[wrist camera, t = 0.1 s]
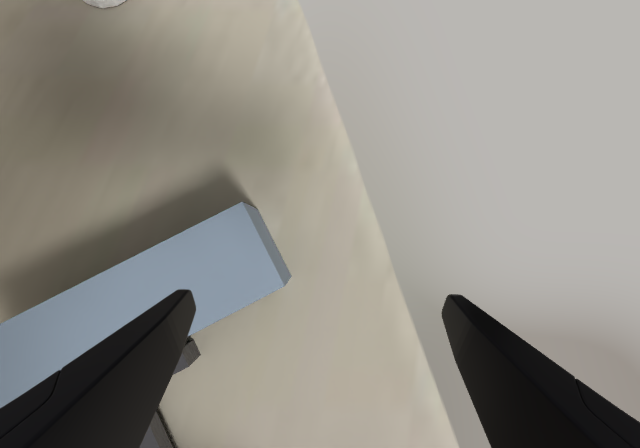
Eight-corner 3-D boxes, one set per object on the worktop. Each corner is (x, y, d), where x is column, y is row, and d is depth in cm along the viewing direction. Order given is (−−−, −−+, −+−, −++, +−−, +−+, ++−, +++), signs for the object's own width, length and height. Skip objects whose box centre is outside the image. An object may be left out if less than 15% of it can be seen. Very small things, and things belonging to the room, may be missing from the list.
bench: (291, 276, 24) (284, 286, 19) (72, 390, 23) (4, 431, 18) (257, 209, 24) (242, 201, 19) (40, 319, 24) (-34, 341, 19)
